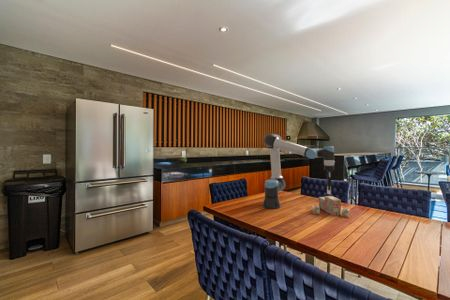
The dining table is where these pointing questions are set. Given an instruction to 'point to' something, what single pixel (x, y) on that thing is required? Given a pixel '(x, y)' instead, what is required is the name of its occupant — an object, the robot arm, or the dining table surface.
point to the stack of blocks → (330, 205)
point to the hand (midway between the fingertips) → (329, 193)
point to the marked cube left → (316, 209)
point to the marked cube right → (345, 212)
